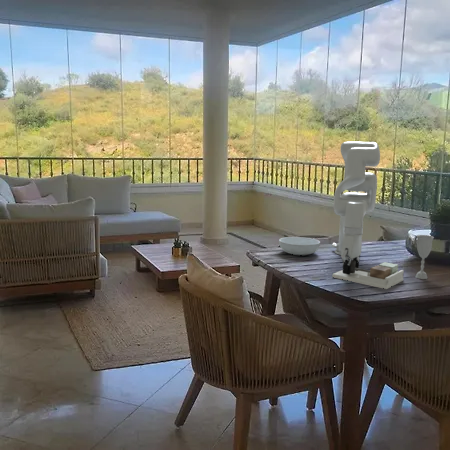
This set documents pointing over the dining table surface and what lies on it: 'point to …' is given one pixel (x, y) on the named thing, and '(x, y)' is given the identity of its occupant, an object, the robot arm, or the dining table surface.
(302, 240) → the serving bowl
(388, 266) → the white joystick tray
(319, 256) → the dining table surface
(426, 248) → the chalice
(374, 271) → the joystick
